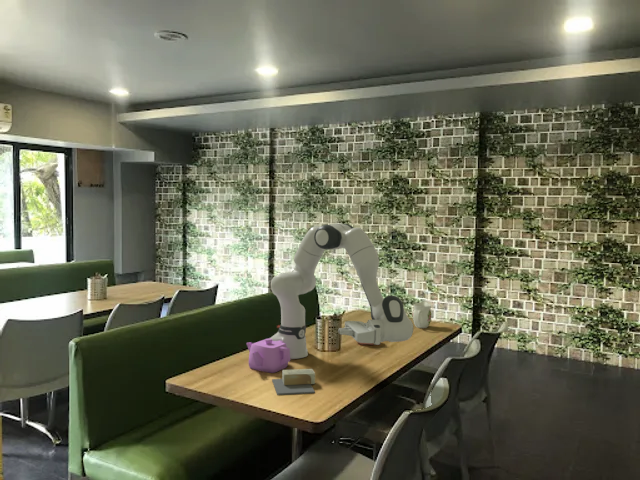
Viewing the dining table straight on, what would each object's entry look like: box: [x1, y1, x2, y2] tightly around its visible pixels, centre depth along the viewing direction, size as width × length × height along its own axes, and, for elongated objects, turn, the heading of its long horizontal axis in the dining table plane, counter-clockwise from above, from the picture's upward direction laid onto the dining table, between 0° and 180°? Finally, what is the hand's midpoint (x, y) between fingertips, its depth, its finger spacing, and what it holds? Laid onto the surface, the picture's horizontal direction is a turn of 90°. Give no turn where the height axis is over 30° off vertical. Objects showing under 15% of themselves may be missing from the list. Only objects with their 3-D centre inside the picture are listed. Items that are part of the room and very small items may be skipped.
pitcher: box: [412, 301, 432, 329], centre depth 305 cm, size 11×18×14 cm, turn 157°
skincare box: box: [281, 368, 316, 385], centre depth 203 cm, size 6×4×12 cm
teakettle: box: [246, 337, 291, 374], centre depth 223 cm, size 17×17×12 cm
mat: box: [271, 378, 316, 396], centre depth 200 cm, size 14×16×1 cm
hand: (339, 331), depth 202 cm, fingers closed
